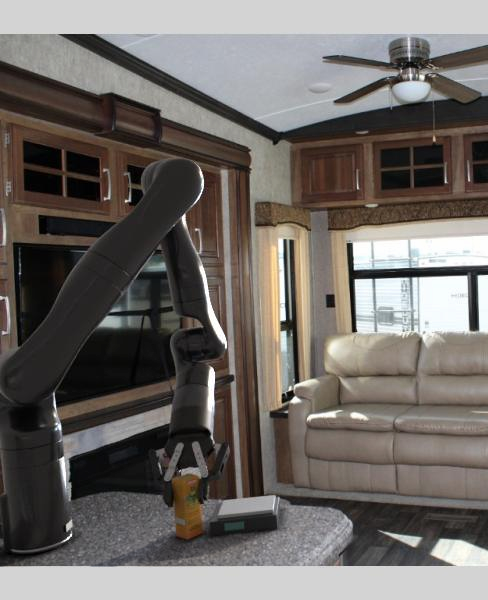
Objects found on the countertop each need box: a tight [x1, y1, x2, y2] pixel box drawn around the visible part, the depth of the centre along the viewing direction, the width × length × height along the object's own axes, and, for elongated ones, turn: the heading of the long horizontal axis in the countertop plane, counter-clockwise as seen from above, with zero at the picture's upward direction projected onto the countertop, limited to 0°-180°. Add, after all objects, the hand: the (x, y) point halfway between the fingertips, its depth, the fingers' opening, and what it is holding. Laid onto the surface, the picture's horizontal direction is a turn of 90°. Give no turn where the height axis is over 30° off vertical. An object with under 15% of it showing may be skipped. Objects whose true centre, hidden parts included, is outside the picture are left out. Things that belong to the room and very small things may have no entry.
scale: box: [209, 494, 281, 537], centre depth 116 cm, size 11×9×3 cm
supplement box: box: [172, 472, 204, 540], centre depth 112 cm, size 3×3×10 cm
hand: (185, 503), depth 110 cm, fingers closed on supplement box, 4 cm apart
